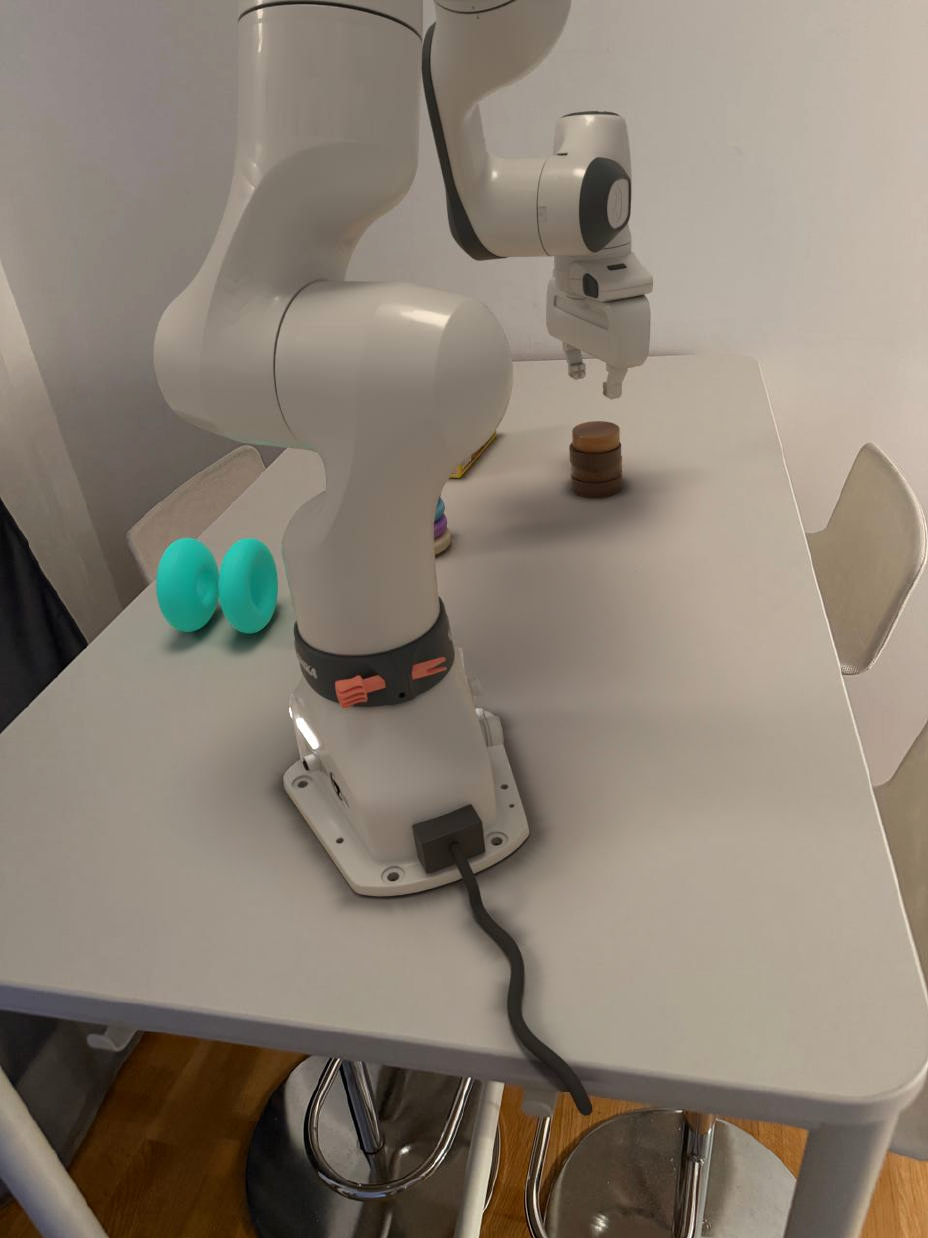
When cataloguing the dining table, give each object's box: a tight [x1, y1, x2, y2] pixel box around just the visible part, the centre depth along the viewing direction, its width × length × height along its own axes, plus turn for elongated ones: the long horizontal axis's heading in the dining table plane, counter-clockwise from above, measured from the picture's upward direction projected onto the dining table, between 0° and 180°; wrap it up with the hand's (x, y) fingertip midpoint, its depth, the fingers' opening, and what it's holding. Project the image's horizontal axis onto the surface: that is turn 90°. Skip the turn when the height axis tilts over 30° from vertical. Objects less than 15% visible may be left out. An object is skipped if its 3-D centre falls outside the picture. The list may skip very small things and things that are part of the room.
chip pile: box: [568, 442, 623, 499], centre depth 119 cm, size 7×7×6 cm
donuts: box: [155, 537, 279, 634], centre depth 97 cm, size 10×10×10 cm
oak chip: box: [571, 420, 621, 453], centre depth 117 cm, size 6×6×2 cm
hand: (594, 387), depth 113 cm, fingers open, 8 cm apart
